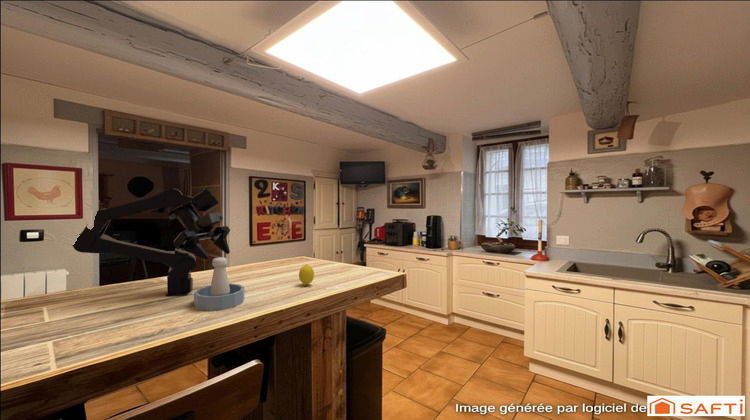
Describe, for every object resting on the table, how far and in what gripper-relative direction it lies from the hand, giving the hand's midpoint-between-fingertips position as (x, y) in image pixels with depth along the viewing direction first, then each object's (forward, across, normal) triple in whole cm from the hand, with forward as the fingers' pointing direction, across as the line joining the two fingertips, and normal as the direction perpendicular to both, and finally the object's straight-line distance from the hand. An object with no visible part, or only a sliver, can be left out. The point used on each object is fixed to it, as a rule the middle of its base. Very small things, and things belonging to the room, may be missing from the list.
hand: (218, 255), depth 103 cm
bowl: (+13, -4, +6) cm, 15 cm away
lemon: (+24, +22, -5) cm, 33 cm away
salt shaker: (+12, -4, +6) cm, 14 cm away
